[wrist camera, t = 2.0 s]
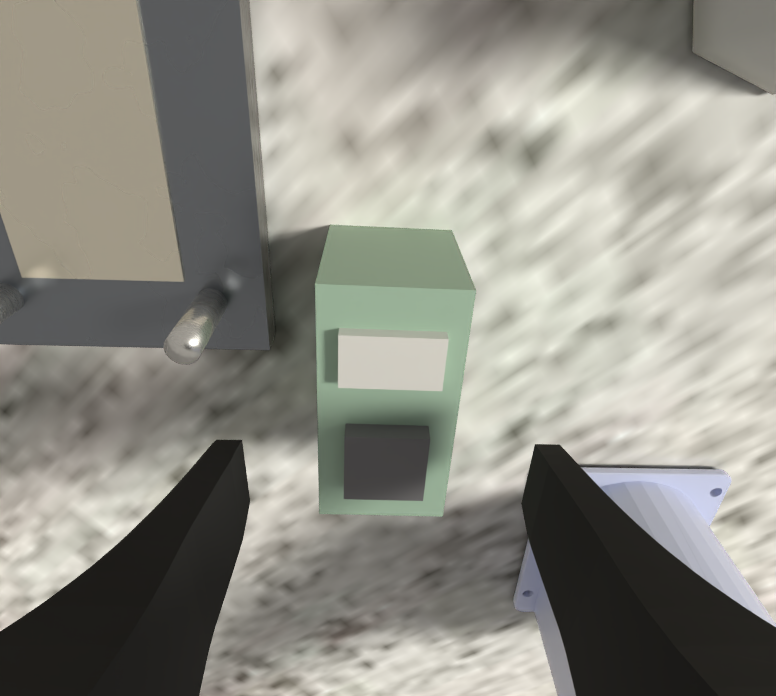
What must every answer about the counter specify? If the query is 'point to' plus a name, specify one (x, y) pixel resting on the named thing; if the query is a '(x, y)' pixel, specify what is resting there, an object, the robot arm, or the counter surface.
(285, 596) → the counter surface
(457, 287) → the module
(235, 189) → the chassis
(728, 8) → the flask
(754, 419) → the counter surface
